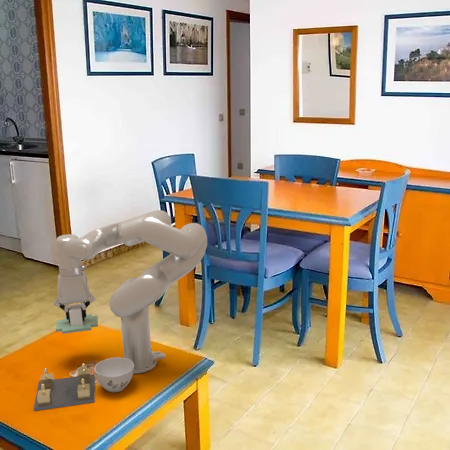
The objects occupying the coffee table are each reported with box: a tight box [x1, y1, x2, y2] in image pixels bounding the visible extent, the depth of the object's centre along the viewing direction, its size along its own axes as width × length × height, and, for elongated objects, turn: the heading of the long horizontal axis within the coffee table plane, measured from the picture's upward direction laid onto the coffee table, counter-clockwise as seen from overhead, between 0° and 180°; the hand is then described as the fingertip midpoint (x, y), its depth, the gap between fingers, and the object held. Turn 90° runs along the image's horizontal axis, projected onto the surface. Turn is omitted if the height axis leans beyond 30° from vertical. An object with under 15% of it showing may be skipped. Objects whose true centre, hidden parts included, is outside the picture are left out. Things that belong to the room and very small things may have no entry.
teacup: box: [93, 357, 134, 393], centre depth 183 cm, size 15×12×8 cm
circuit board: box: [55, 303, 99, 335], centre depth 196 cm, size 14×12×6 cm
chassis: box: [33, 362, 96, 412], centre depth 180 cm, size 18×16×7 cm
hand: (76, 319), depth 197 cm, fingers closed on circuit board, 4 cm apart
